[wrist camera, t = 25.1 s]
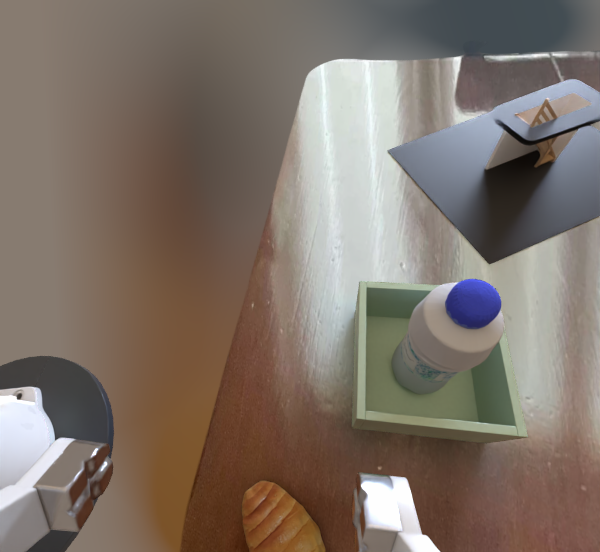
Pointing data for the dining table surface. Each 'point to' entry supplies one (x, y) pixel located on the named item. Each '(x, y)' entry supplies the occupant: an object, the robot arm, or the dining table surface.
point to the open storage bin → (433, 406)
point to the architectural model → (514, 169)
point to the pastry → (277, 521)
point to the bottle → (448, 335)
